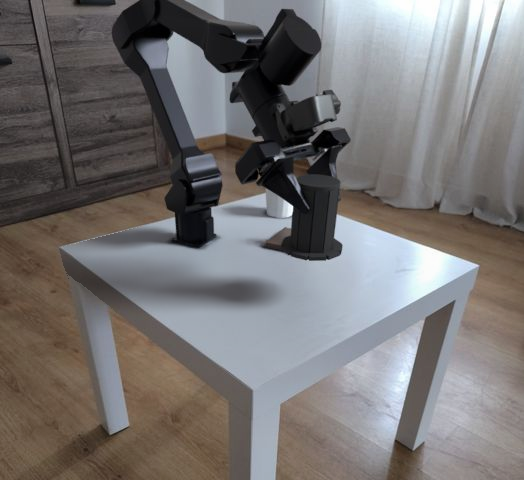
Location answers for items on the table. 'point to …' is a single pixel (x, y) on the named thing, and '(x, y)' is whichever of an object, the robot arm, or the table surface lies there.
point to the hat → (315, 221)
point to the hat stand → (278, 238)
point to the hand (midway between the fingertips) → (323, 207)
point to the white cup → (277, 206)
